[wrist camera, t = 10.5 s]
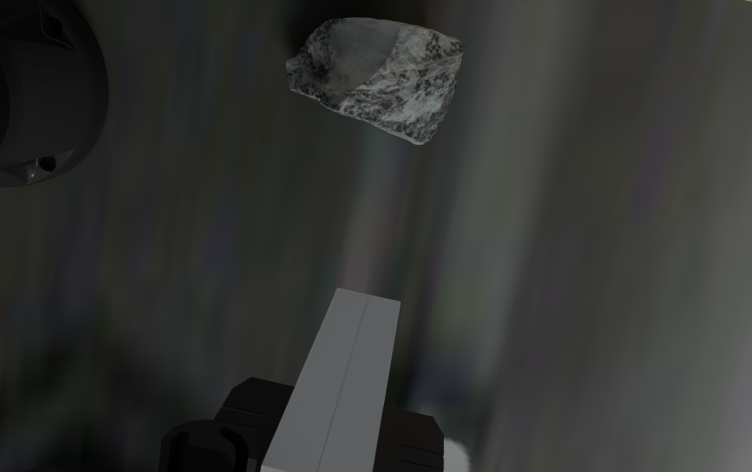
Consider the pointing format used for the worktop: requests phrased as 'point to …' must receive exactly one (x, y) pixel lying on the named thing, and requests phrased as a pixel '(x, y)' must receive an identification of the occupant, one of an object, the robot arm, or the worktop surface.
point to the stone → (380, 73)
